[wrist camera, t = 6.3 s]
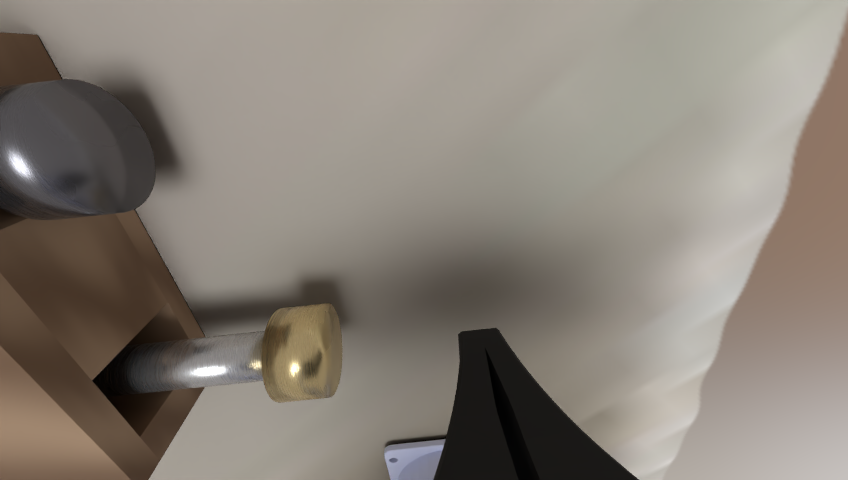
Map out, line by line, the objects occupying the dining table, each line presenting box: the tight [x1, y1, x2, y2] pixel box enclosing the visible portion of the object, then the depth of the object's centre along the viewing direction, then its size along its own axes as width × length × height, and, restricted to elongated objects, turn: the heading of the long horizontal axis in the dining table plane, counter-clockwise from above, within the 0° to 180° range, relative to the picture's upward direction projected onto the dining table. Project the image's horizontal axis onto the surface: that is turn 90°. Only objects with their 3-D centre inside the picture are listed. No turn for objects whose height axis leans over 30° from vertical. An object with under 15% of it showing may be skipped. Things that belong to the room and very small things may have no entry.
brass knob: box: [92, 303, 342, 403], centre depth 13 cm, size 3×9×3 cm, turn 95°
